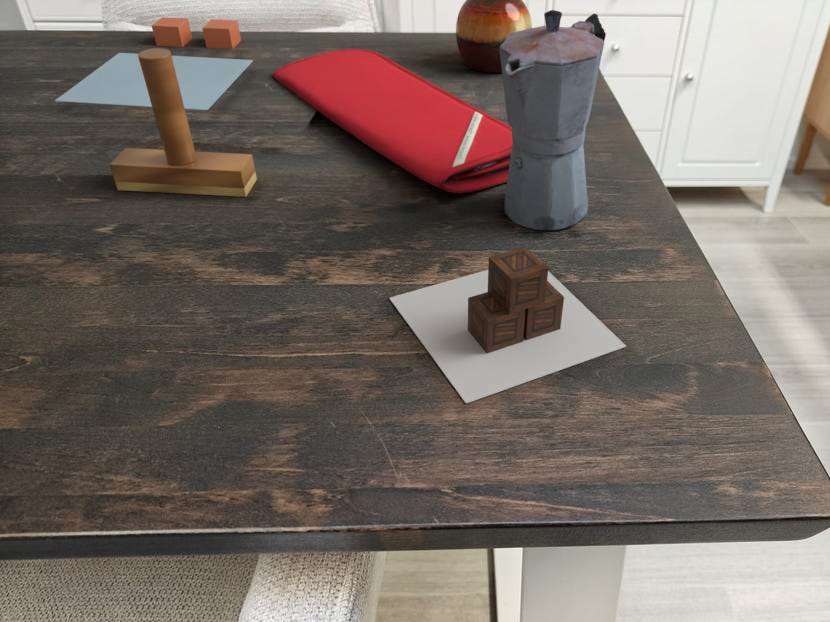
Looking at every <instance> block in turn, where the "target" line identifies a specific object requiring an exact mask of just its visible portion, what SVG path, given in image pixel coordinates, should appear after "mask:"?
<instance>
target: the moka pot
mask: <svg viewBox="0 0 830 622" xmlns="http://www.w3.org/2000/svg"><path fill="white" fill-rule="evenodd" d="M543 16H544V22H545V25H541V26H536V27H532V28H531V29H526V30H522V31H517V32H512V33H510V34H509V36H508V37H507V38H506V40H505V41H504V42H503V43H502V45H501V46H500V59H501V67H502V72H501V74H502V75H501V76H502V84H503V91H504V100H505V110H506V119H507V124H508V125H509V126H510V127H512V141H513V142H512V149H511V156H510V164H509V172H508V178H507V182H506V187H505V193H504V214H505V215H506V216H507V218H509V219H510V220H511V221H512V222H513V223H515V224H517V225H519V226H521V227H524V228H526V229H531V230H536V231H557V230H562V229H567V228H569V227H572V226H575V225H577V224H578V223H579V222H580V221H582V219H583V218H585V217H586V215H587V214H588V212H589V202H588V189H587V176H586V174H587V173H586V162H585V149H584V142H585V138H586V127H587V124H588V122H589V119H590V117H591V116H590V115H591V111H592V106H593V101H594V97H595V90H596V86H597V81H598V76H599V71H600V67H601V61H602V56H603V50H604V47H605V40H606V36H607V33H606V31H605V29H604V28H603V25H602V23H601V22H600V18H599V15H598V14H597V13H592V14H591V15H589V16H588V17H587V18H586V19H585V20H584V21H582V20H578V21H576V22H574V23H572V25H571V26H560V25H561V20H562V16H563V13H562V11H559V10H556V9H555V10H554V9H552V10H551V9H550V10H547V11H546V12H544V13H543Z"/></svg>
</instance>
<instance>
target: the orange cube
mask: <svg viewBox="0 0 830 622" xmlns="http://www.w3.org/2000/svg"><path fill="white" fill-rule="evenodd" d="M189 21H190V20H189V18H186V17H185V18H184V17H161V18H159V19H158V20H157V21H155V22H154V23H153V24H152V25H151V28H152V32H153V37H154V41H155V44H156V46H157V47H179V48H184V47H185V46H186V45H187V44H188V43H190V41H191V40H193V35H192V30H191V26H190V22H189Z"/></svg>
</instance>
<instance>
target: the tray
mask: <svg viewBox="0 0 830 622" xmlns="http://www.w3.org/2000/svg"><path fill="white" fill-rule="evenodd" d="M138 54H139V53H132V52H118V53H117V54H116V55H114V56H112V58H110V59H108V60H107V61H106V62H104V63H103V64H102V65H100V66H99V67H98V68H96V69H95V70H94V71H92V72H91V73H90V74H88V75H87V76H86V77H85V78H83V79H82V80H80V81H79V82H77V83H76V84H75V85H73V86H72V87H71V88H69V90H66V92H64V93H63V94H61V95H60V96H59V97H57V98H56V99H55V100H54V102H62V103H63V102H65V103H80V104H96V105H97V104H98V105H113V106H129V107H130V106H131V107H146V108H147V107H149V108H152V105H151V101H150V98H149V94H148V90H147V87H146V83H145V79H144V76H143V72H142V68H141V65H140V61H139V58H138ZM172 60H173V64H174V68H175V72H176V76H177V80H178V84H179V88H180V92H181V96H182V100H183V104H184V108H185V110H199V111H208V110H209V109H210V108H211V107H212V106H213V105H214V103H215V102H216V101H217V100H218V99H219V98H220V97H221V96H222V95H223V94H224V93H225V92H226V91H227V90H228V88H230V86H231V85H233V83H234V82H235V81H236V80H237V79H238V78H239V77H240V76H241V74H242V73H243V72H244V71H245V70H246V69H247V68H248V67H249V66H250V65H251V64H252V63H253V61H254V59H243V58H242V59H239V58H238V59H237V58H223V57H222V58H220V57H204V56H203V57H202V56H187V55H185V56H184V55H172Z"/></svg>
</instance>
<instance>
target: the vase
mask: <svg viewBox="0 0 830 622" xmlns="http://www.w3.org/2000/svg"><path fill="white" fill-rule="evenodd" d="M532 22H533V21H532V18H531V14H530V11H529V9H528V7H527V5H526V4H525V2H524V1H523V0H465V1H464V2H463V4H462V6H461V7H460V9H459V11H458V15H457V18H456V22H455V40H456V45H457V49H458V52H459V55H460V57H461V59H462V60H463V62H464V63H465V64H466V65H467V66H468V67H469V68H471V69H472V70H474V71H478V72H482V73H490V74H491V73H492V74H495V73H496V74H497V73H498V74H499V73H501V74H502V67H501V59H500V46H501V45H502V43H503V42H504V41H505V40H506V38H507V37H508V36H509V34H510V33H512V32H517V31H522V30H526V29H531V28H533V23H532Z"/></svg>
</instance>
